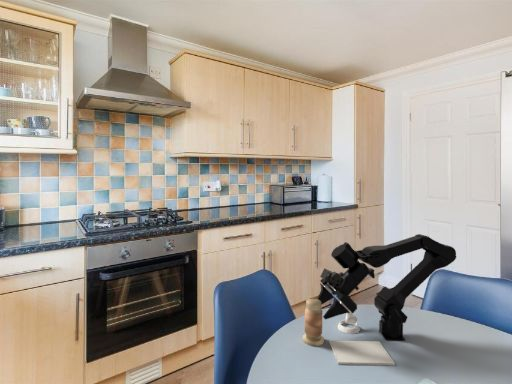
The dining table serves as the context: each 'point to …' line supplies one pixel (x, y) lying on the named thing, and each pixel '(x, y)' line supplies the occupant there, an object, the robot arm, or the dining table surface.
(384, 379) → the dining table surface
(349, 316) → the white vr controller
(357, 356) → the mat
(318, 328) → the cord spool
